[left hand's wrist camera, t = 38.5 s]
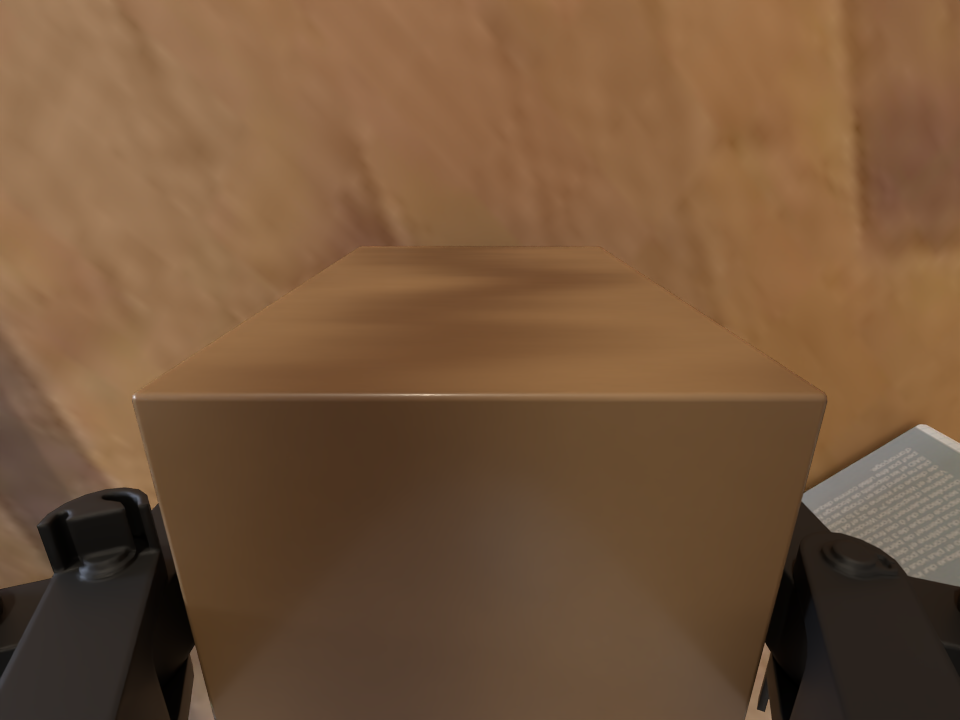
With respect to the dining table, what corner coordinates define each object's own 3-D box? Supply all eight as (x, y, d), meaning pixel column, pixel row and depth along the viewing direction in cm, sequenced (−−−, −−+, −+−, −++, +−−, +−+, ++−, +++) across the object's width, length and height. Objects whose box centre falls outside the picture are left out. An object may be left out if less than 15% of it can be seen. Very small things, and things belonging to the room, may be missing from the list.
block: (601, 246, 16) (832, 394, 5) (583, 467, 18) (715, 846, 8) (358, 245, 16) (125, 393, 5) (376, 467, 18) (244, 846, 8)
